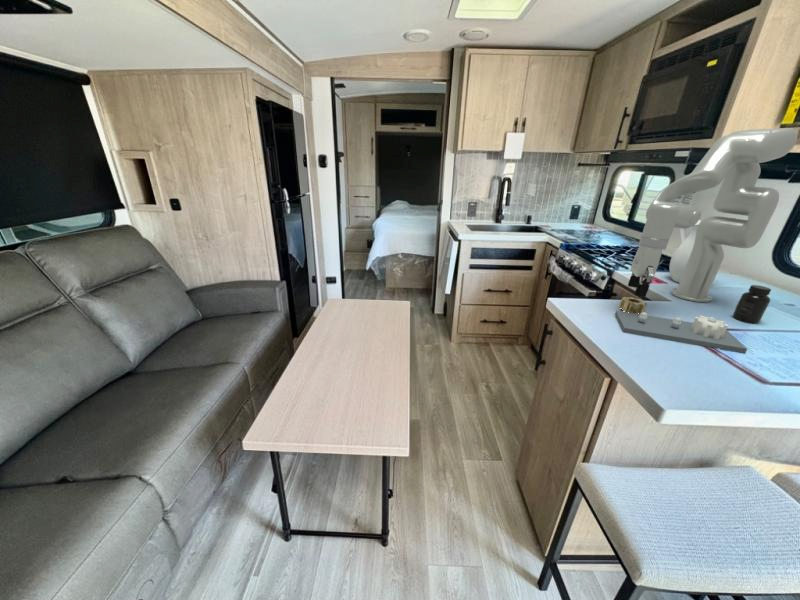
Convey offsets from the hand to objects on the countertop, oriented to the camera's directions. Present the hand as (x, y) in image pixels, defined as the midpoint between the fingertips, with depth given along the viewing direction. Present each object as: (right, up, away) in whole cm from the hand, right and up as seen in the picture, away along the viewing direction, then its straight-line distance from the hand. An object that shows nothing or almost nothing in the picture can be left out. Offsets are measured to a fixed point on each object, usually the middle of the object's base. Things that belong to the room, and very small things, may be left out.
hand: (636, 291), depth 115 cm
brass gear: (0, -7, +3) cm, 8 cm away
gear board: (+4, -13, -11) cm, 17 cm away
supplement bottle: (+37, -10, -1) cm, 39 cm away
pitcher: (+49, +6, +37) cm, 62 cm away
